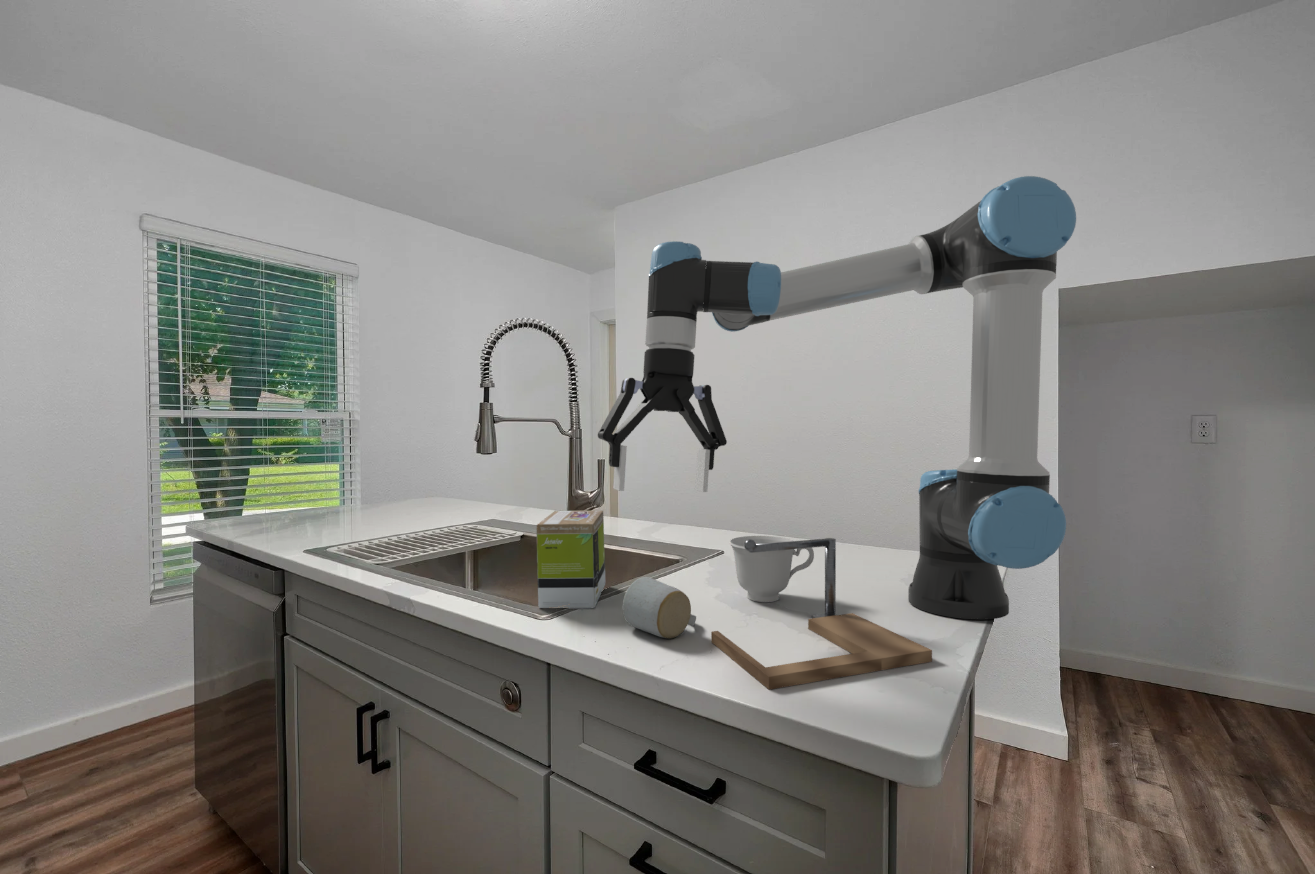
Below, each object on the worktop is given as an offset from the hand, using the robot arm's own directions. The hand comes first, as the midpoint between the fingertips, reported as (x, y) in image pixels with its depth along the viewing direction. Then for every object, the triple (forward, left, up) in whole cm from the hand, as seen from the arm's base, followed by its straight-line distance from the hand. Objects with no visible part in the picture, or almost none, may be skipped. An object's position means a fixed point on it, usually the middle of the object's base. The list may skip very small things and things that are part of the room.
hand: (661, 490), depth 88 cm
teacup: (-24, -8, -21) cm, 33 cm away
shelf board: (-17, +16, -21) cm, 31 cm away
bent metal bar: (-19, +6, -21) cm, 29 cm away
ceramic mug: (0, +1, -21) cm, 21 cm away
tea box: (+9, -21, -21) cm, 31 cm away
